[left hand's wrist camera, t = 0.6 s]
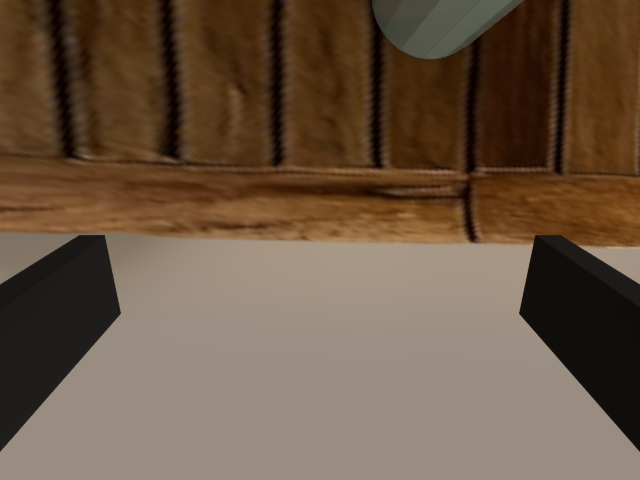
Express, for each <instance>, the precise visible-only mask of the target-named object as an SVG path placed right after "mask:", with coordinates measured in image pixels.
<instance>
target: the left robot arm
mask: <svg viewBox="0 0 640 480" xmlns="http://www.w3.org/2000/svg"><path fill="white" fill-rule="evenodd" d="M120 314H121V312H120V307H119V302H118V297H117V292H116V288H115V283H114V278H113V273H112V268H111V264H110V259H109V254H108V249H107V244H106V240H105V235H79V236H77V237H76V238H74V239H73V240H71V241H69V242H68V243H66V244H65V245H63V246H61V247H60V248H58V249H57V250H55V251H53V252H52V253H50V254H48V255H47V256H45V257H44V258H42V259H40V260H39V261H37V262H36V263H34V264H32V265H31V266H29V267H28V268H26V269H24V270H23V271H21V272H19V273H18V274H16V275H15V276H13V277H11V278H10V279H8V280H7V281H5V282H3V283H2V284H0V451H1V450H2V449H3V448H4V447H5V446H6V445H7V443H8V442H9V441H10V440H11V439H12V438H13V436H14V435H15V434H16V433H17V432H18V431H19V430H20V428H21V427H22V426H23V425H24V424H25V423H26V422H27V420H28V419H29V418H30V417H31V416H32V415H33V414H34V412H35V411H36V410H37V409H38V408H39V407H40V406H41V404H42V403H43V402H44V401H45V400H46V399H47V398H48V396H49V395H50V394H51V393H52V392H53V391H54V390H55V388H56V387H57V386H58V385H59V384H60V383H61V382H62V380H63V379H64V378H65V377H66V376H67V375H68V374H69V372H70V371H71V370H72V369H73V368H74V367H75V365H76V364H77V363H78V362H79V361H80V360H81V359H82V358H83V356H84V355H85V354H86V353H87V352H88V351H89V350H90V348H91V347H92V346H93V345H94V344H95V343H96V342H97V340H98V339H99V338H100V337H101V336H102V335H103V333H104V332H105V331H106V330H107V329H108V328H109V327H110V325H111V324H112V323H113V322H114V321H115V320H116V319H117V317H118V316H119V315H120ZM519 314H520V315H521V316H522V317H523V319H524V320H525V321H526V322H527V323H528V324H529V325H530V327H531V328H532V329H533V330H534V331H535V332H536V333H537V335H538V336H539V337H540V338H541V339H542V340H543V342H544V343H545V344H546V345H547V346H548V347H549V348H550V350H551V351H552V352H553V353H554V354H555V355H556V356H557V358H558V359H559V360H560V361H561V362H562V363H563V364H564V366H565V367H566V368H567V369H568V370H569V371H570V372H571V374H572V375H573V376H574V377H575V378H576V379H577V380H578V382H579V383H580V384H581V385H582V386H583V387H584V388H585V390H586V391H587V392H588V393H589V394H590V395H591V396H592V398H593V399H594V400H595V401H596V402H597V403H598V404H599V406H600V407H601V408H602V409H603V410H604V411H605V412H606V414H607V415H608V416H609V417H610V418H611V419H612V420H613V422H614V423H615V424H616V425H617V426H618V427H619V428H620V430H621V431H622V432H623V433H624V434H625V435H626V436H627V438H628V439H629V440H630V441H631V442H632V443H633V444H634V446H635V447H636V448H637V449H638V450H639V451H640V284H638V283H637V282H635V281H633V280H632V279H630V278H629V277H627V276H625V275H624V274H622V273H621V272H619V271H617V270H616V269H614V268H612V267H611V266H609V265H608V264H606V263H604V262H603V261H601V260H600V259H598V258H596V257H595V256H593V255H592V254H590V253H588V252H587V251H585V250H584V249H582V248H580V247H579V246H577V245H575V244H574V243H572V242H571V241H569V240H567V239H566V238H564V237H563V236H561V235H535V239H534V244H533V249H532V254H531V259H530V263H529V268H528V273H527V278H526V283H525V288H524V292H523V297H522V302H521V307H520V312H519Z"/></svg>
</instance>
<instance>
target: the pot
mask: <svg viewBox="0 0 640 480" xmlns="http://www.w3.org/2000/svg"><path fill="white" fill-rule="evenodd" d="M522 1H523V0H372V7H373V11H374V15H375V18H376V21H377V23H378V25H379V27H380V29H381V31H382V32H383V34H384V35H385V37H386V38H387V39H388V40H389V41H390V42H391V43H392V44H393V45H394V46H395V47H397V48H398V49H400V50H401V51H403V52H404V53H407V54H409V55H411V56H414V57H417V58H423V59H437V58H443V57H447V56H449V55H452V54H454V53H456V52H457V51H459V50H461V49H462V48H464V47H466V46H468V45H469V44H470V43H472V42H473V41H474V40H475V39H476V38H478V37H479V36H480V35H481V34H483V33H484V32H485V31H486V30H488V29H489V28H490V27H491V26H493V25H494V24H495V23H496V22H498V21H499V20H500V19H501V18H502V17H504V16H505V15H506V14H507V13H509V12H510V11H511V10H512V9H514V8H515V7H516V6H517V5H519V4H520V3H521V2H522Z"/></svg>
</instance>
